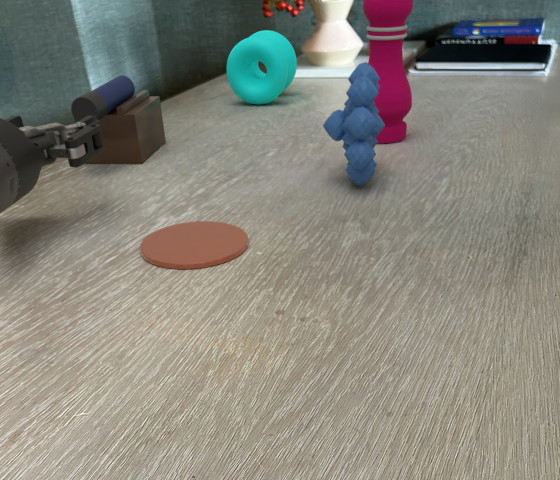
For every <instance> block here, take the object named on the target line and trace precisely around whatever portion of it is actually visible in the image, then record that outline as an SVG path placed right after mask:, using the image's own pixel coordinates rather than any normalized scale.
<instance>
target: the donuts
mask: <svg viewBox="0 0 560 480" xmlns="http://www.w3.org/2000/svg"><path fill="white" fill-rule="evenodd" d="M259 62H261V63H262V64H263V65H264V67H265V69H266V73H265V72H263V71H262V70H261V69H260V66H259ZM297 66H298V59H297V55H296V51H295V49H294V46H293V45H292V44H291V42H290V41H289V39H288V38H286V37H285V36H284V35H283V34H281V33H280V32H277V31H275V30H270V29H269V30H268V29H264V30H259V31H256V32H254V33H253V34H251V35H249V36H248V37H246V38H244V39H242V40H240V41H239V42H237V43H236V44H235V45H234V47H233V48H232V49H231V51H230V53H229V55H228V58H227V61H226V78H227V81H228V83H229V86H230V88H231V90H232V91H233V92H234V94H235V95H236V96H237V97H238V98H240V100H242V101H244V102H246V103H247V104H251V105H257V106H258V105H260V106H261V105H267V104H269V103H271V102H273V101H274V100H276V99H277V98H278V97H279V96H281V94H282V93H283V91H285V90H287V89H288V87H289V86H291V84H292V83H293V80H294V79H295V76H296V73H297Z"/></svg>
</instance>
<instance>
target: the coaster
mask: <svg viewBox="0 0 560 480" xmlns="http://www.w3.org/2000/svg"><path fill="white" fill-rule="evenodd" d="M248 237H249V236H248V234H247V232H246V231H245V230H243V229H242V228H240V227H239V226H237V225H234V224H231V223H228V222H227V223H226V222H222V221H211V220H199V221H188V222H180V223H176V224H171V225H167V226H165V227H162V228H160V229H157V230H156V231H152V232H151V233H149V234H148V235H147V236H146V237H144V238H143V240H142V241H141V243H140V244H139V245H140V246H139V251H140V255H141V257H142V258H143V259H144V260H145V261H146V262H148V264H149V263H150V264H152V265H153V266H156V267H159V268H166V269H172V270H173V269H174V270H194V269H195V270H197V269H203V268H210V267H213V266H217V265H221V264H225V263H227V262H229V261H232V260H234V259H236V258H237V257H240V255H242V254H243V253H244V252H245V251H246V250H247V249H248V246H249V238H248Z"/></svg>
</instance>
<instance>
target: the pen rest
mask: <svg viewBox="0 0 560 480" xmlns="http://www.w3.org/2000/svg"><path fill="white" fill-rule="evenodd" d="M163 118H164V117H163V112H162V104H161V98H160V96H159V95H157V96H155V95H154V96H153V95H152V96H150V91H149V89H143V90H141V91H140V92H138V93H137V94H134V95H133V97H132V98H131V99H129V100H127V101H126V102H124V103H123V104H121V105H120V106H118V107H117V108H115V109H114V110H112V111H111V112H109V113H108V114H106V115H105V116H104V117H103V118H102V119H100V120H99V124H100V129H101V134H102V140H103V145H104V151H103V152H101V153H100V154H98V155H97V156H95V157H94V158H92V159H91V160H89V161H88V162H86V163H85V164H140V165H141V164H142V165H143V163H144V162H146V160H148V159H149V158H150V157H151V156H152V155H153V154H154V153H155V152H157V150H159V149H160V148H161V147H162V146H163V145H164V144H165V143H166V142H167V141H166V135H165V126H164V120H163ZM73 121H74V124H75V123H77V121H76V120H75V118H74V117H73Z"/></svg>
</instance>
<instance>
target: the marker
mask: <svg viewBox="0 0 560 480" xmlns="http://www.w3.org/2000/svg"><path fill="white" fill-rule="evenodd" d="M135 93H136V87H135V84H134V82H133V81H132V80H131V78H130V77H128V76H126V75H118V76H115V77H114V78H112V79H111V80H108V81H107V82H105V83H103V84H101V85H100V86H98V87H96V88H94V89H93V90H90V91H88V92H85V93H83V94H81V95H80V96H77V97H76V98H75V99H74V100H73V101H72V103H71V107H70V109H71V114H72V117H73V119H74V118H75V120H76V121H77V122H78V121H80V120H81V119H83V118H85V117H86V116H96V119H97V120H100V119H102V118H103V117H104V116H105V115H106V114H108V113H109V112H111V111H112V110H114V109H115V108H117V107H118V106H120V105H121V104H123V103H124V102H126V101H127V100H129V99H131V98H132V97H134V96H135Z"/></svg>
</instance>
